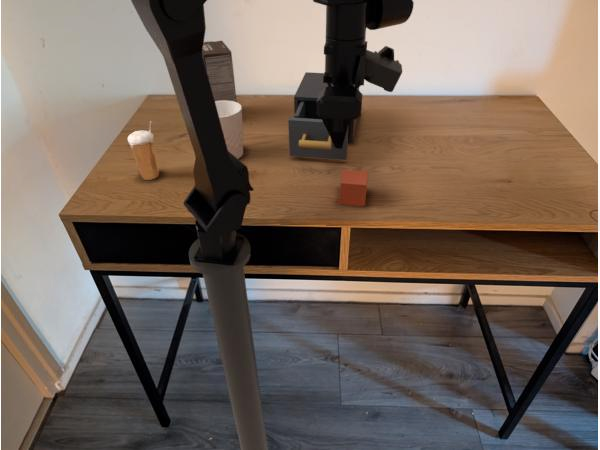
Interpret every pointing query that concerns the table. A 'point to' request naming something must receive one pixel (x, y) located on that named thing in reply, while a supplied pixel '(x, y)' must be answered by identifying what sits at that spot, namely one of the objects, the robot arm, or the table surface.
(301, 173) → the table surface
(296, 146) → the drawer
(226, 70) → the coffee box
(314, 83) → the cabinet
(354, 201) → the block
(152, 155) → the milkshake
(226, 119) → the white cup
